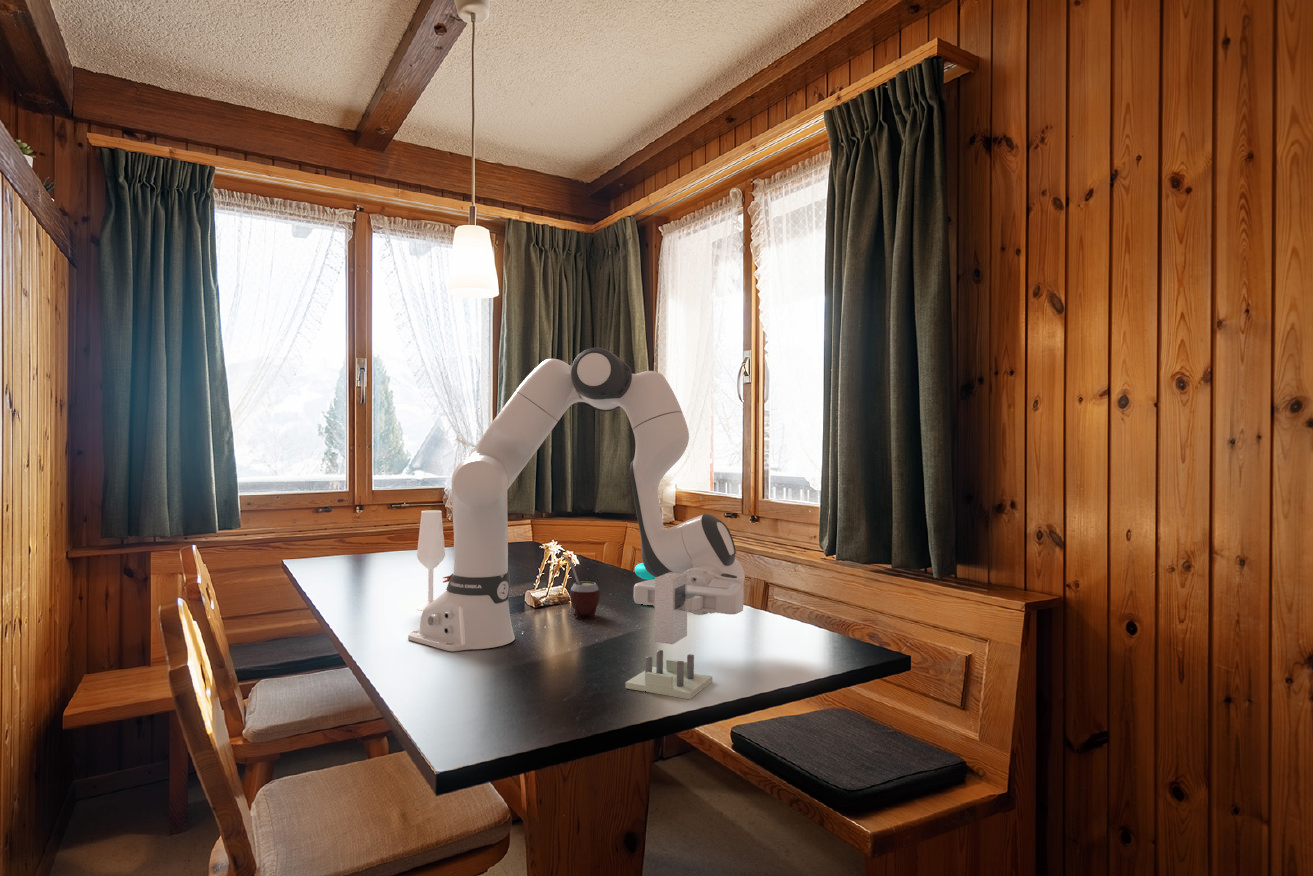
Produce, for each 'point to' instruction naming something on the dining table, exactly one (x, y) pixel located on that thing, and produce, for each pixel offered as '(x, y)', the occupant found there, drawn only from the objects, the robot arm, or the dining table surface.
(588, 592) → the mate gourd
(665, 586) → the block
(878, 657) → the dining table surface
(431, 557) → the champagne flute
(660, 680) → the peg board
